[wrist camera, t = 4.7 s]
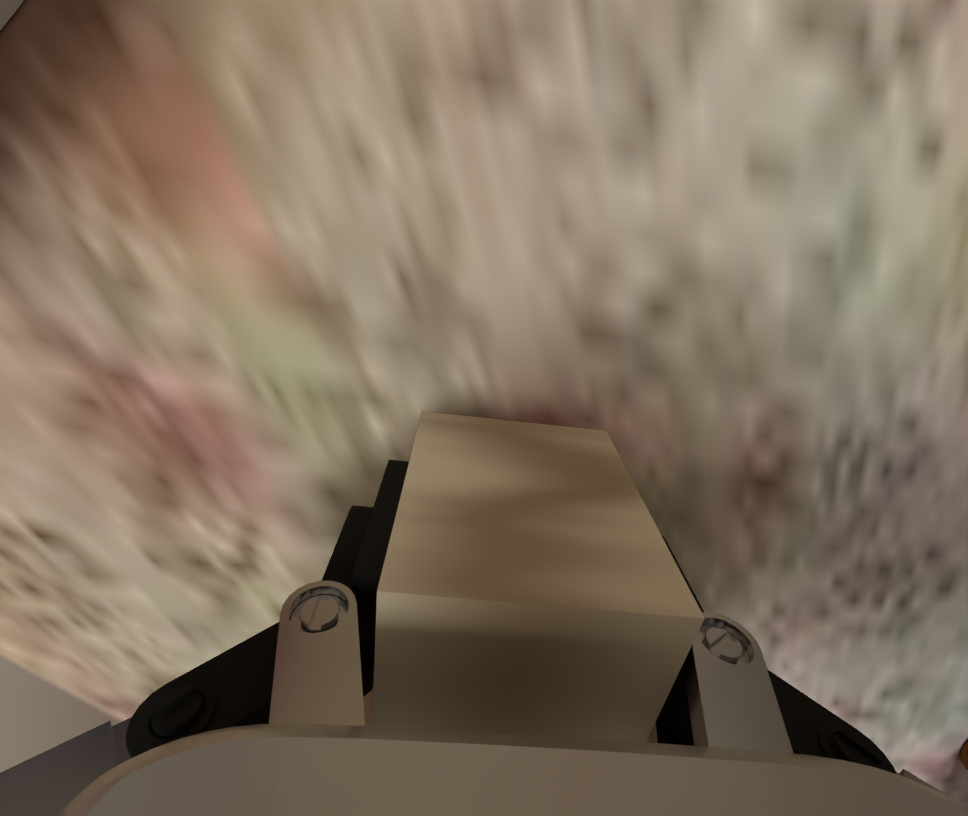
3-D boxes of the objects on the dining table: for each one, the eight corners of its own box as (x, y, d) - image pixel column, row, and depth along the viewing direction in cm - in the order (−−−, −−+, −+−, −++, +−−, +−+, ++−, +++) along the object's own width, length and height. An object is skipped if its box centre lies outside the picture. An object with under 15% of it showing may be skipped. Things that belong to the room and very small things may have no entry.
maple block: (606, 430, 12) (705, 618, 7) (568, 568, 15) (621, 792, 9) (421, 411, 12) (376, 591, 7) (410, 554, 14) (370, 778, 9)
